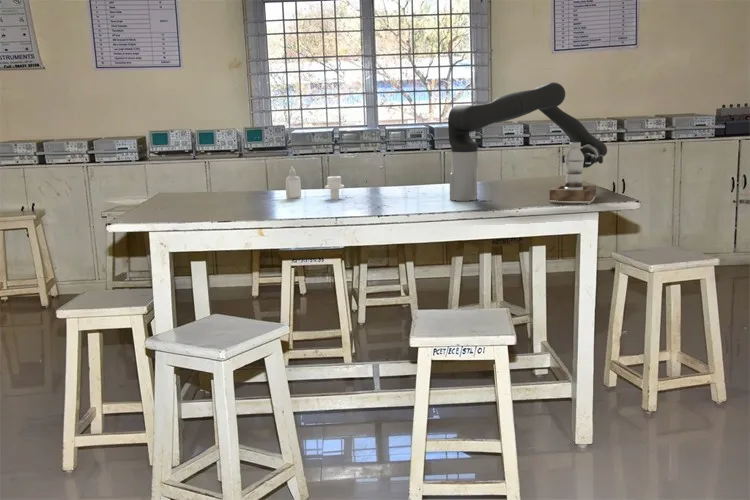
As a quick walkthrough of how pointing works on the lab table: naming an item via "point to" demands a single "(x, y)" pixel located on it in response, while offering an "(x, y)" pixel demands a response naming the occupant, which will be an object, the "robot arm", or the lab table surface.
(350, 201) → the lab table surface
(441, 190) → the lab table surface
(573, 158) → the plastic bottle
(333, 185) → the pipe fitting
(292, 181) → the eye dropper bottle
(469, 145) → the robot arm
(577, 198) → the wooden square frame
